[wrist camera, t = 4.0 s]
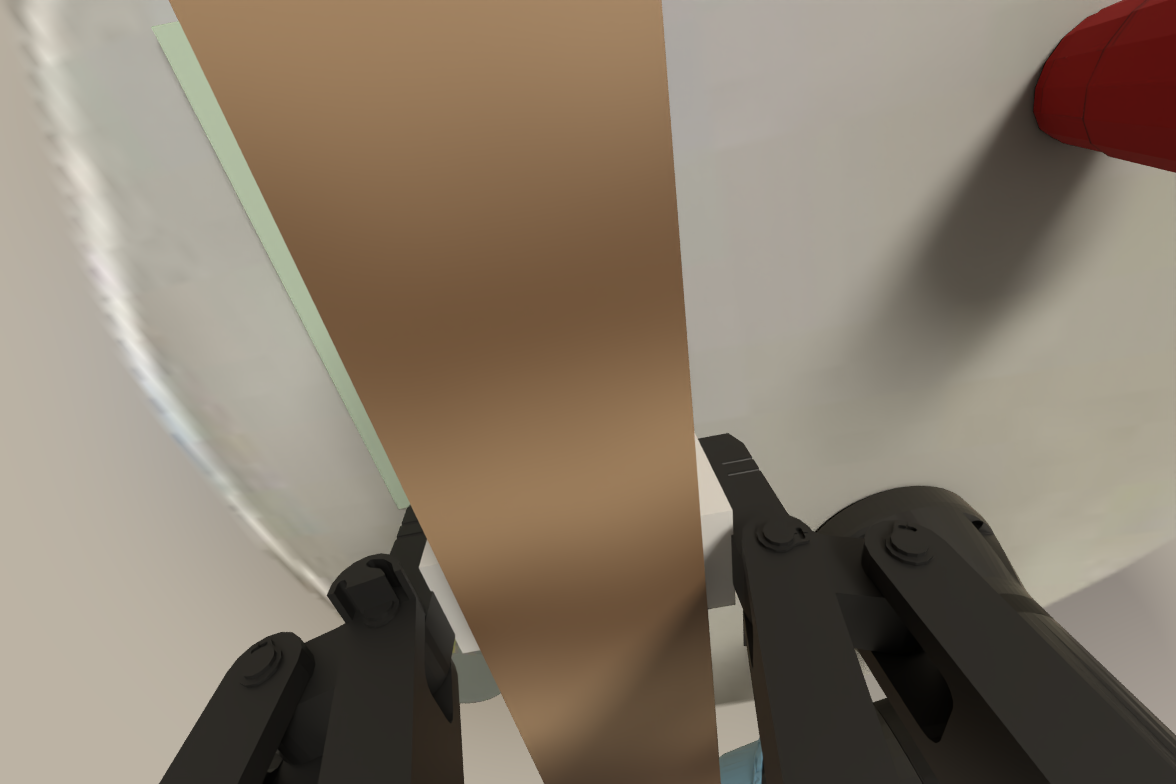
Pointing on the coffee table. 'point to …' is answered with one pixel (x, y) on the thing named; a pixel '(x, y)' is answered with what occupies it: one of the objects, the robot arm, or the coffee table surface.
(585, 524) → the rail
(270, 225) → the mat
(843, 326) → the coffee table surface
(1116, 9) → the plastic cup
